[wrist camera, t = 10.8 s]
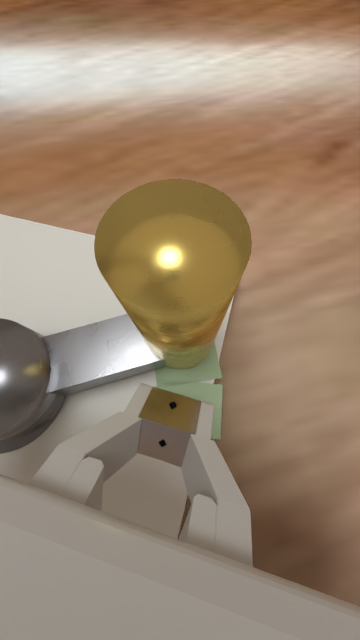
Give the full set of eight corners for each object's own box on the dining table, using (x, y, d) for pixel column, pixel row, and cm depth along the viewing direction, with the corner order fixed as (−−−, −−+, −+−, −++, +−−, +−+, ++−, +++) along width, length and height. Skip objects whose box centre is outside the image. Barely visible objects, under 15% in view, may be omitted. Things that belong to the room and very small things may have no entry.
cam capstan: (-31, 451, 13) (-492, 551, 4) (-29, 349, 15) (-341, 269, 6) (227, 374, 14) (296, 323, 5) (197, 288, 16) (209, 142, 7)
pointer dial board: (-243, 533, 14) (-316, 555, 12) (-24, 221, 22) (-46, 202, 20) (155, 720, 11) (148, 791, 9) (248, 285, 19) (255, 270, 17)
